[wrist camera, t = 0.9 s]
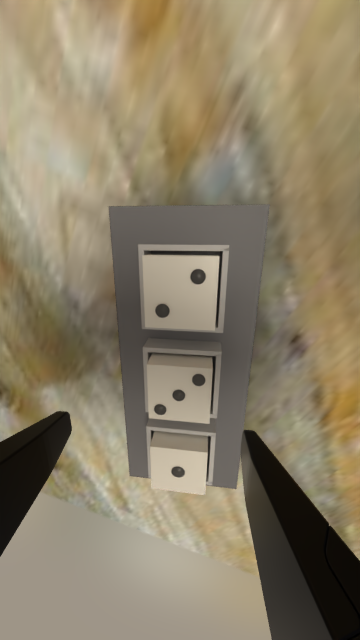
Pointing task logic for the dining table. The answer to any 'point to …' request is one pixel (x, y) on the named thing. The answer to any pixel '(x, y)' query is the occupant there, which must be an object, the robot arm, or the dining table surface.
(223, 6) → the dining table surface
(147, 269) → the tile two dots
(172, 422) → the button panel
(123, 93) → the dining table surface
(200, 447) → the tile one dot
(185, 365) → the tile three dots
